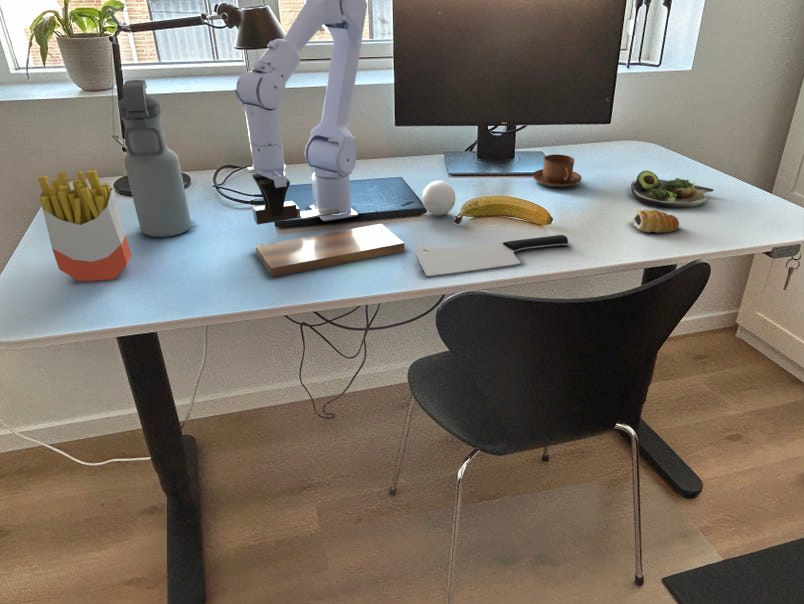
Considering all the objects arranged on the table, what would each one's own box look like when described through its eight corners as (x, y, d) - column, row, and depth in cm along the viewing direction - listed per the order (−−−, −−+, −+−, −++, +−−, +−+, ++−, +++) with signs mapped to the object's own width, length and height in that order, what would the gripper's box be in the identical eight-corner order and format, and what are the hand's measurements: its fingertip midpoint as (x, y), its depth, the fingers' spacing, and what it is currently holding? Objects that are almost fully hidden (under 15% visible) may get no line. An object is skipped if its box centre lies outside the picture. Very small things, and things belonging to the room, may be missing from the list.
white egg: (447, 206, 149) (448, 174, 145) (460, 218, 143) (461, 184, 139) (405, 211, 146) (405, 179, 142) (417, 223, 140) (417, 190, 136)
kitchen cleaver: (426, 272, 118) (412, 244, 125) (426, 280, 119) (412, 252, 126) (582, 254, 126) (560, 229, 134) (581, 262, 127) (559, 237, 135)
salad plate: (703, 186, 165) (707, 167, 163) (723, 211, 150) (728, 191, 148) (625, 182, 166) (628, 164, 164) (638, 207, 151) (641, 188, 149)
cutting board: (256, 254, 125) (254, 245, 124) (381, 231, 136) (381, 223, 135) (272, 277, 117) (271, 268, 116) (404, 251, 128) (404, 242, 127)
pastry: (671, 222, 144) (675, 205, 142) (683, 234, 138) (687, 217, 136) (629, 222, 143) (632, 205, 141) (639, 234, 138) (643, 217, 136)
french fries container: (129, 278, 116) (102, 177, 106) (62, 283, 113) (28, 180, 104) (134, 267, 119) (108, 169, 109) (69, 272, 117) (37, 172, 107)
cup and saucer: (590, 186, 163) (594, 161, 160) (554, 194, 158) (557, 168, 154) (558, 173, 172) (560, 149, 168) (522, 180, 166) (524, 156, 162)
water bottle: (191, 236, 132) (161, 88, 116) (139, 241, 129) (100, 90, 114) (192, 218, 140) (164, 77, 124) (143, 222, 137) (108, 79, 122)
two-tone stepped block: (254, 220, 129) (252, 206, 128) (334, 207, 136) (333, 194, 134) (259, 226, 127) (257, 212, 125) (340, 213, 133) (339, 199, 132)
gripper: (234, 135, 125) (245, 203, 133) (254, 155, 115) (265, 228, 122) (271, 131, 128) (279, 198, 136) (294, 150, 118) (301, 222, 125)
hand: (275, 212), depth 129 cm, fingers closed on two-tone stepped block, 2 cm apart
